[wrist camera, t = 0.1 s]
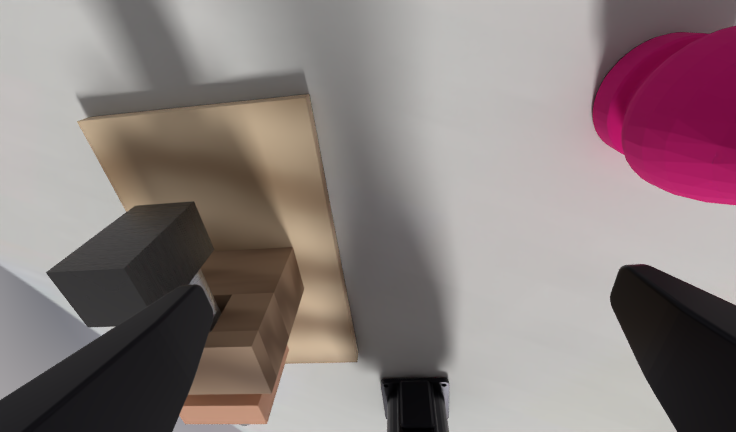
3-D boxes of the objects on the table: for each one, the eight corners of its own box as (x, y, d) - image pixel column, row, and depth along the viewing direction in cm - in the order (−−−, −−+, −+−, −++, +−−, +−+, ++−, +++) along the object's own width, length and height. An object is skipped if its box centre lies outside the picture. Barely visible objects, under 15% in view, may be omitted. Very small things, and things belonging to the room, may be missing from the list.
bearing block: (304, 288, 26) (271, 393, 19) (206, 293, 27) (139, 395, 20) (292, 246, 24) (251, 346, 17) (187, 252, 25) (105, 350, 18)
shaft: (275, 394, 25) (251, 476, 21) (234, 395, 26) (202, 475, 21) (194, 201, 17) (123, 268, 12) (135, 205, 17) (45, 272, 13)
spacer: (289, 349, 26) (266, 424, 21) (221, 351, 26) (185, 424, 21) (282, 331, 24) (257, 405, 20) (212, 334, 25) (172, 406, 20)
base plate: (358, 352, 31) (357, 362, 30) (215, 355, 33) (210, 365, 32) (309, 94, 19) (305, 97, 19) (89, 117, 21) (77, 121, 20)
